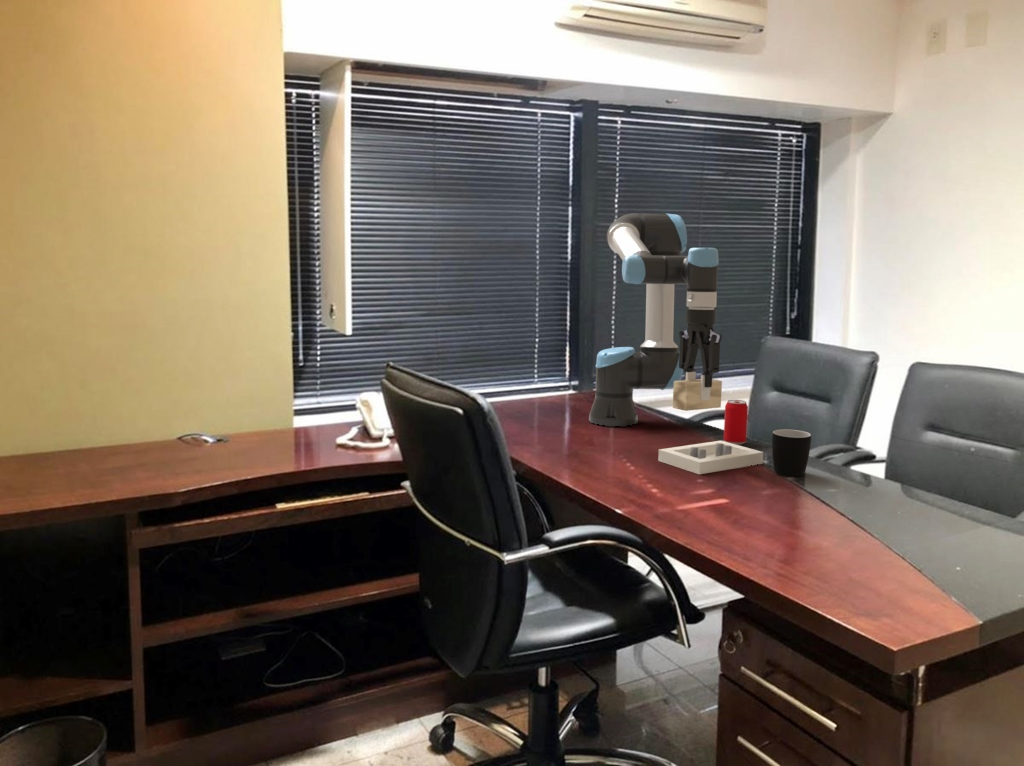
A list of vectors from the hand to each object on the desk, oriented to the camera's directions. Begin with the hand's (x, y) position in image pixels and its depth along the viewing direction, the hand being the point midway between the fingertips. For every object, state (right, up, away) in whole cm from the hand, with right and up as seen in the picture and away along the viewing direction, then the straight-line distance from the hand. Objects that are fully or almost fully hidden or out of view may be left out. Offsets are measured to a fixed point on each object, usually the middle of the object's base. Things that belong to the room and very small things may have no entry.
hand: (697, 398), depth 221 cm
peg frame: (+3, -16, -2) cm, 17 cm away
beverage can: (+15, -13, +20) cm, 28 cm away
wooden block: (0, -2, 0) cm, 3 cm away
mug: (+20, -18, -11) cm, 29 cm away
